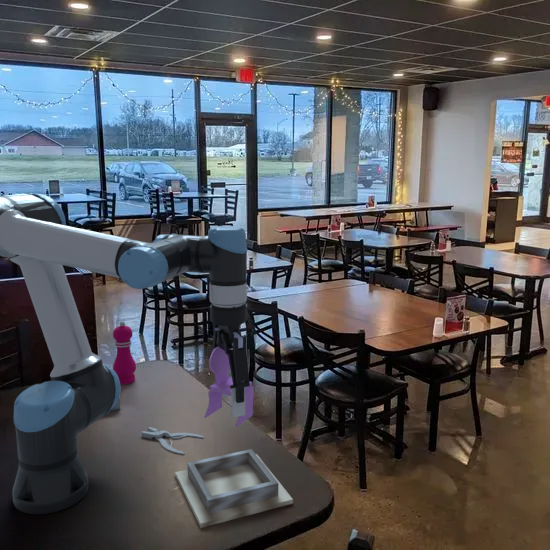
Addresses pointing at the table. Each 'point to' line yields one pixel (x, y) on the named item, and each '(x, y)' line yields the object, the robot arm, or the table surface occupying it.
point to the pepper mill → (124, 354)
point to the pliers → (159, 434)
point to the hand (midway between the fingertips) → (230, 405)
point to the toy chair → (225, 385)
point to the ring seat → (230, 487)
